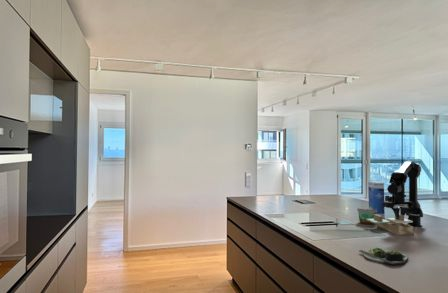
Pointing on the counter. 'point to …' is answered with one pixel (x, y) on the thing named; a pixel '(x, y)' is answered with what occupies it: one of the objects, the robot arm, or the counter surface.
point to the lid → (400, 219)
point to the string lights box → (376, 197)
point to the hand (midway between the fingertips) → (399, 218)
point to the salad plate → (385, 256)
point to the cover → (378, 219)
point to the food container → (366, 215)
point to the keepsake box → (397, 228)
